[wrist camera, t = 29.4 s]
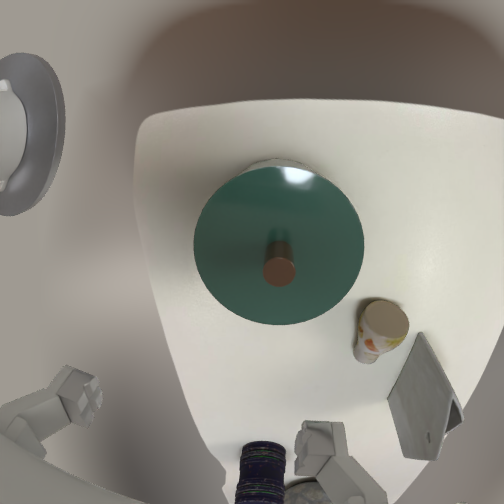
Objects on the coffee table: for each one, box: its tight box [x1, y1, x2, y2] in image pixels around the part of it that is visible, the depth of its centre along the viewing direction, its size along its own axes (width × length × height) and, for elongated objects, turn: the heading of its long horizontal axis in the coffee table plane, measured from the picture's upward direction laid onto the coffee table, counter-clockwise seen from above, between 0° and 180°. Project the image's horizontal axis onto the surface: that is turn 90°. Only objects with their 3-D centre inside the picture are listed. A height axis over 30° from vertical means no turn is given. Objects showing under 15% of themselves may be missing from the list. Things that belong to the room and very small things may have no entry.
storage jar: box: [235, 441, 286, 504], centre depth 50 cm, size 10×10×15 cm
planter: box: [387, 332, 465, 461], centre depth 36 cm, size 16×8×19 cm, turn 176°
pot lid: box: [194, 165, 364, 325], centre depth 24 cm, size 14×14×5 cm
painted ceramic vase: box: [353, 300, 409, 364], centre depth 39 cm, size 8×10×10 cm
